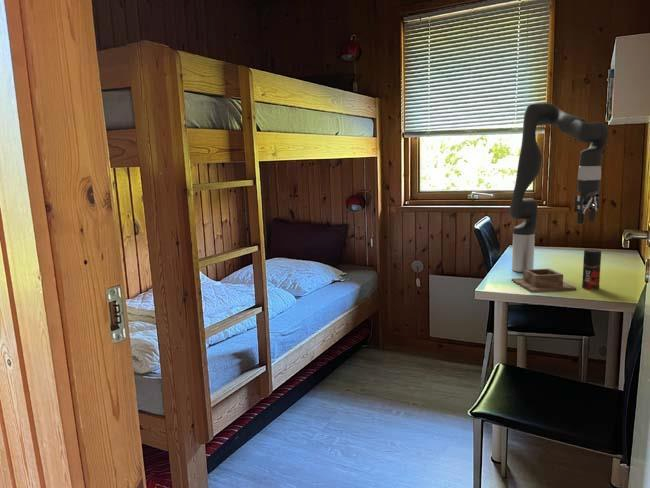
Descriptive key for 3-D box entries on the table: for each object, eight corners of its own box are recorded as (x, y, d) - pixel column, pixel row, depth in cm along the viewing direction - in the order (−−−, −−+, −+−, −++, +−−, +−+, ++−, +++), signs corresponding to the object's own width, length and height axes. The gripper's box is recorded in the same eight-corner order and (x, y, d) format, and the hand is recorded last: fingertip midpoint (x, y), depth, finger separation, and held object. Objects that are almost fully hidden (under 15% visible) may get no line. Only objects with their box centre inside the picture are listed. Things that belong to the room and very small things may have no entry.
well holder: (511, 281, 209) (511, 268, 208) (552, 279, 210) (553, 266, 209) (531, 292, 191) (531, 278, 190) (576, 290, 192) (576, 276, 191)
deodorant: (581, 288, 194) (583, 251, 191) (583, 285, 198) (585, 248, 196) (598, 290, 190) (600, 252, 188) (599, 287, 195) (602, 249, 193)
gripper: (588, 177, 187) (585, 219, 190) (569, 179, 179) (566, 223, 182) (608, 177, 181) (605, 221, 184) (590, 179, 173) (587, 225, 176)
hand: (586, 222), depth 183 cm, fingers open, 8 cm apart
